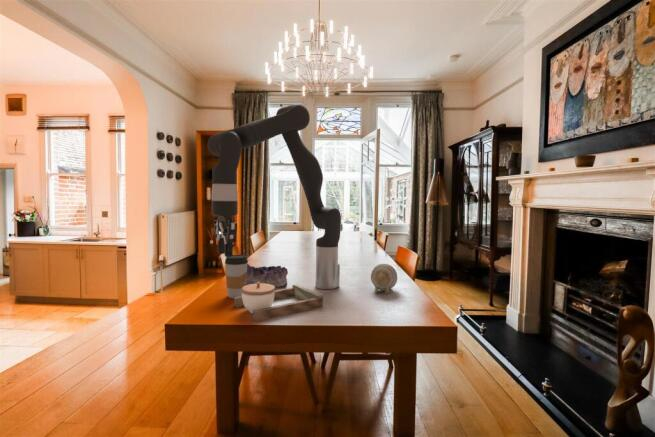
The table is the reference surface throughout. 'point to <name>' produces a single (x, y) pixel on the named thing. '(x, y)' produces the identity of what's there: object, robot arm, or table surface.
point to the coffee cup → (236, 274)
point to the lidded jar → (258, 296)
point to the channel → (308, 302)
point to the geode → (267, 275)
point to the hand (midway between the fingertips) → (225, 254)
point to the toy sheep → (383, 277)
